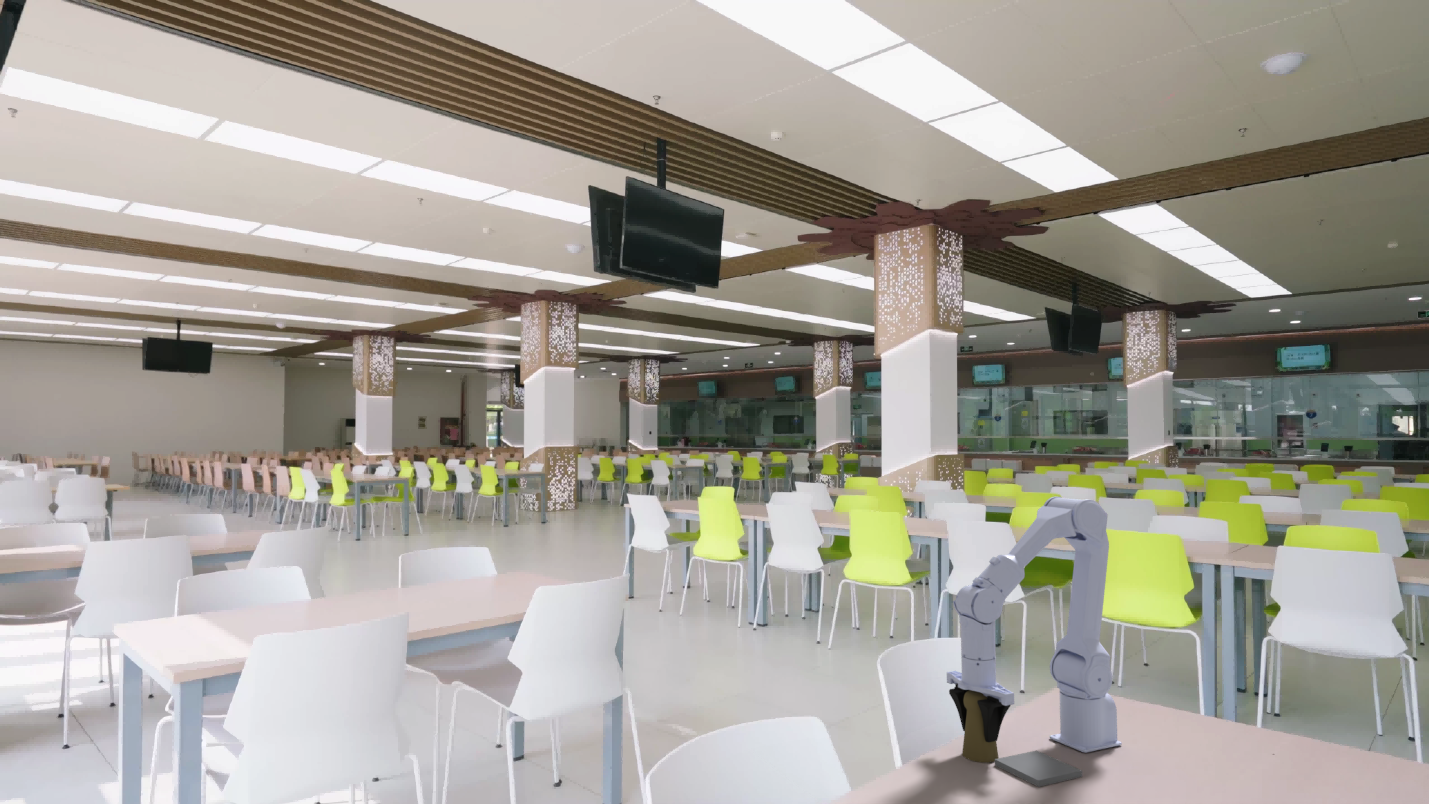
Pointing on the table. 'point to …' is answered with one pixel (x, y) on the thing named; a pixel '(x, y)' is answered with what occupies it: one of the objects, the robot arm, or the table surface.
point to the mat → (1038, 768)
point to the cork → (976, 732)
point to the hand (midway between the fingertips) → (979, 735)
